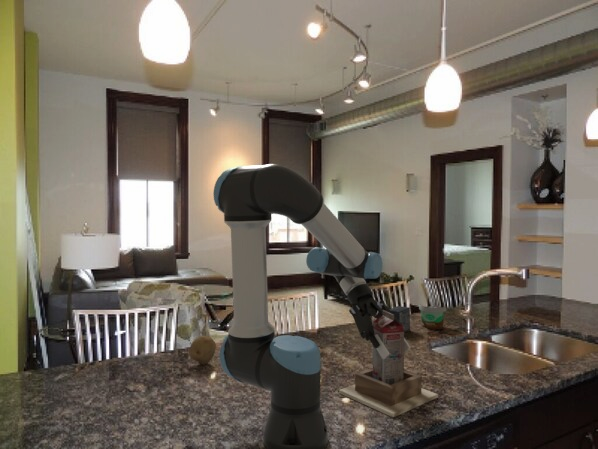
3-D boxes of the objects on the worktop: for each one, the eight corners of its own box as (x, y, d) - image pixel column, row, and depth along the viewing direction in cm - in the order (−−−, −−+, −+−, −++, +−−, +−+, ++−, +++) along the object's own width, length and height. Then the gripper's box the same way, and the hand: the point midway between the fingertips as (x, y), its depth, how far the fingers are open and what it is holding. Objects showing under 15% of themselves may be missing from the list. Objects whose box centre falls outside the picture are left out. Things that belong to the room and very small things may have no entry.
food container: (418, 328, 204) (418, 306, 204) (418, 325, 210) (418, 304, 210) (446, 330, 201) (446, 308, 200) (446, 327, 207) (446, 305, 206)
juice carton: (382, 392, 126) (383, 315, 125) (372, 384, 132) (373, 310, 132) (403, 390, 128) (404, 314, 127) (392, 381, 134) (393, 309, 134)
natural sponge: (196, 370, 150) (196, 341, 150) (184, 363, 157) (184, 335, 157) (220, 364, 156) (220, 336, 155) (208, 358, 163) (207, 331, 162)
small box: (397, 328, 206) (397, 305, 205) (410, 330, 201) (410, 307, 201) (386, 332, 197) (386, 309, 197) (399, 335, 193) (399, 311, 193)
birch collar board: (393, 417, 116) (393, 394, 116) (339, 393, 132) (339, 373, 131) (437, 397, 129) (437, 376, 129) (383, 377, 144) (383, 358, 144)
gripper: (373, 293, 148) (412, 352, 136) (325, 301, 135) (364, 368, 123) (385, 279, 144) (427, 339, 132) (337, 286, 130) (379, 354, 118)
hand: (397, 353), depth 127 cm, fingers closed on juice carton, 9 cm apart
